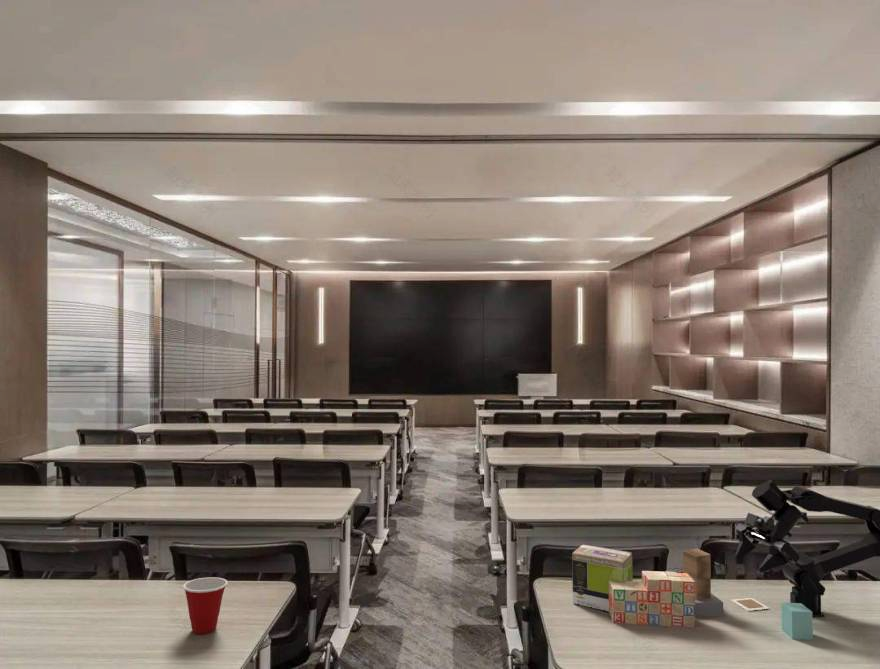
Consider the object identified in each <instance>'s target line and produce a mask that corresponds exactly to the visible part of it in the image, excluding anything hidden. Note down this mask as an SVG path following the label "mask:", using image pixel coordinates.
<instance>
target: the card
mask: <svg viewBox="0 0 880 669" xmlns="http://www.w3.org/2000/svg"><path fill="white" fill-rule="evenodd" d="M730 601H731V602H732V601H733V602H732V603H733V604H735V603H736V604H735V605H737V606H738V605H739V606H738V607H740V606H741V607H740V608H741V609H743V608H744V610H745V611H747V612H755V611H754V610H758V611H765V610H764V609H768V610H770V609H771V608H770V607H768V606H767V605H765V604H763V603H761V602H760V601H758V600H756V599H754V598H752V597H746V598H738V599H737V598H734V599H730ZM762 609H763V610H762Z"/></svg>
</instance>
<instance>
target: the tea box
mask: <svg viewBox="0 0 880 669" xmlns="http://www.w3.org/2000/svg"><path fill="white" fill-rule="evenodd" d="M571 566H572V568H571V570H572V571H571V572H572V573H571V574H572V577H571V578H572V603H573V604H574V605H578V604H579V606H582V607H583V606H584V607H588V608H591V607H592V609H596V610H601V611H604V610H605V611H606V612H609V581H614V582H620V583H625V582H626V581H634V580H633V577H634V575H633V553H632V552H630V551H624V550H618V549H612V548H607V547H601V546H595V545H590V544H589V545H588V544H581V545H580V546H579V547H578V548H577V549H576V550H574V551H573V552H572V554H571ZM605 611H604V612H605Z"/></svg>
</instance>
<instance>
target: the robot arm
mask: <svg viewBox="0 0 880 669" xmlns="http://www.w3.org/2000/svg"><path fill="white" fill-rule="evenodd" d="M751 496H752V498H754V499H755V500H756V502H758V503H760V505H761V506H762V507H763V508H765V509H766V511H768V512H772V511H773V513H772V515H770V516H768V515H765V516H764V517H762V516H758V515H757V514H756V515H755V514H754V513H751V512H747V515H746V518H745V520H744V523H738V524H736V526H735V528H734V530H735V531H736V534H737V536H738V539H739V540H738V545H737V548H736V551H735V554H734V560H736V561H739V560H741V559H742V558H744V557H745V556H746V555H747V554H749V553H750V552H751V551H753V550H754V549H756V545H759V543H760V544H763V545H765V546H767V547H769V549H768V550H769V552H768V554H767V555H766V557H765V558H764V559H763V561H762V562H761V564H760V566H759V567H758V568H757V569H758V572H760V573H764V572H766V571H770V570H772V569H774V568H777V567H781V566H782V572H783V574H784V576H785V577H786V578H788V582H789V583H790V584H792V586H791V591H790V592H789V595H790V596H789V597H790V599H789V600H790V601H789V603H801V604H803V605H804V606H805V607H807V608H808V609H809V610H810V611H812V617H825V616H826V615H825V613H823V612H822V596H824V595H825V591H826V587H825V586H824V585H823V584H822V583H821V581H822V579H823V578H824V577H825V576H826V575H827V574H830V573H832V572H836V571H839V570H841V569H844V568H847V567H849V566H853V565H855V564H858V563H861V562H864V561H866V560H869V559H873V558H876V557H878V558H880V509H878V508H876V507H873V506H871V505H865V504H864V505H863V504H859V503H855V502H851V501H846V500H843V499H838V498H834V497H829V496H826V495H824V494H821V493H819V492H816V491H814V490H812V489H809V488H807V487H805V486H803V485H795V487H793V488H791V489H787V490H786V489H785V490H781V489H780V488H779V487H778V485H777V484H776V483H775V482H774V481H772V480H771V479H768V480H767V481H766V482H763V483H761V484H759V485H756V487H754V488H753V489H752V492H751ZM790 503H791V504H790ZM798 507H799V508H801V509H803V510H805V511H808V512H813V513H814V512H817V513H823V512H824V513H825V512H830V513H834V514H839V515H842V516H847V517H850V518H854V519H860V520H863V521H864V523H865V527H866V530H868V533H866V535H865V536H864V537H863V539H861V540H859V541H856V542H853V543H851V544H848V545H845V546H842V547H840V548H837V549H833V550H831V551H828V552H825V553H823V554H820V555H817V556H814V557H810V556H809V555H807V554H805V553H804V552H800V553H799V551H798V550H797V549H796V548H795V547H794V546H793V545H792V544H791V543H790V542H789V541H786V540H785V539H786V538H791V537H792V536H793V534H792V533H791V531H793V529H794V527H795V526H796V525H797V524H798V523H799V522H802V523H806V524H808V523H809V517H808V513H807V512H805V511H801V510H800V509H799V508H798ZM751 526H752V527H751Z"/></svg>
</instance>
